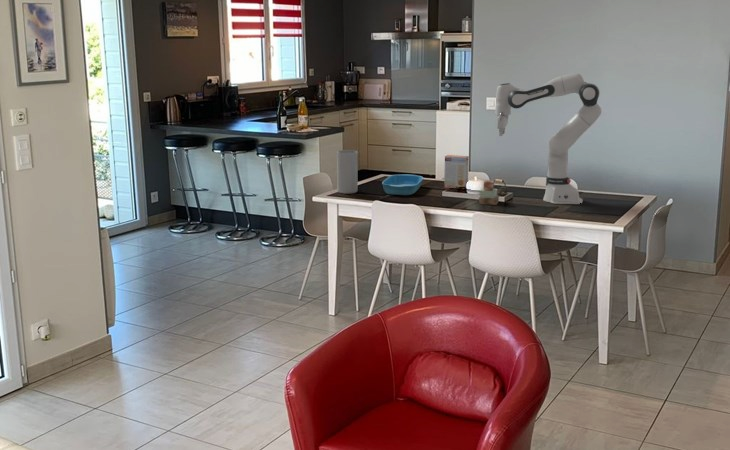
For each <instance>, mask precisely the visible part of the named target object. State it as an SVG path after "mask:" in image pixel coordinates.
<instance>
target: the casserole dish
mask: <svg viewBox="0 0 730 450" xmlns="http://www.w3.org/2000/svg"><path fill="white" fill-rule="evenodd" d="M423 181H424V177H423V176H421V175H416V174H409V173H408V174H404V173H403V174H391V175H389V176H388V177H387V178H385V179H384V180H383V181H382V182H381V184H382V186H383V191H384V192H385V193H386V194H387V195H396V196H398V195H399V196H411V195H413V194H415V193H416V192H417V191H418V190H419V189H420V188H421V186H422V183H423Z"/></svg>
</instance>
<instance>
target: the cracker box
mask: <svg viewBox="0 0 730 450" xmlns="http://www.w3.org/2000/svg"><path fill="white" fill-rule="evenodd" d="M469 158H470V157H469V156H467V155H459V154H457V155H455V154H447V155H445V156H444V175H443V176H444V177H443V179H444V180H443V182H444V183H443V187H444V189H446V190H448V189H449V188H456V187H466V183H467V182H468V183H469ZM449 190H450V189H449Z"/></svg>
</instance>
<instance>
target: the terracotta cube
mask: <svg viewBox="0 0 730 450" xmlns="http://www.w3.org/2000/svg"><path fill="white" fill-rule="evenodd" d="M494 185H495V181H494V180H488V179H487V180H486V179H485V180H484V181H483V188H484V191H493V189H495V188H494Z"/></svg>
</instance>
